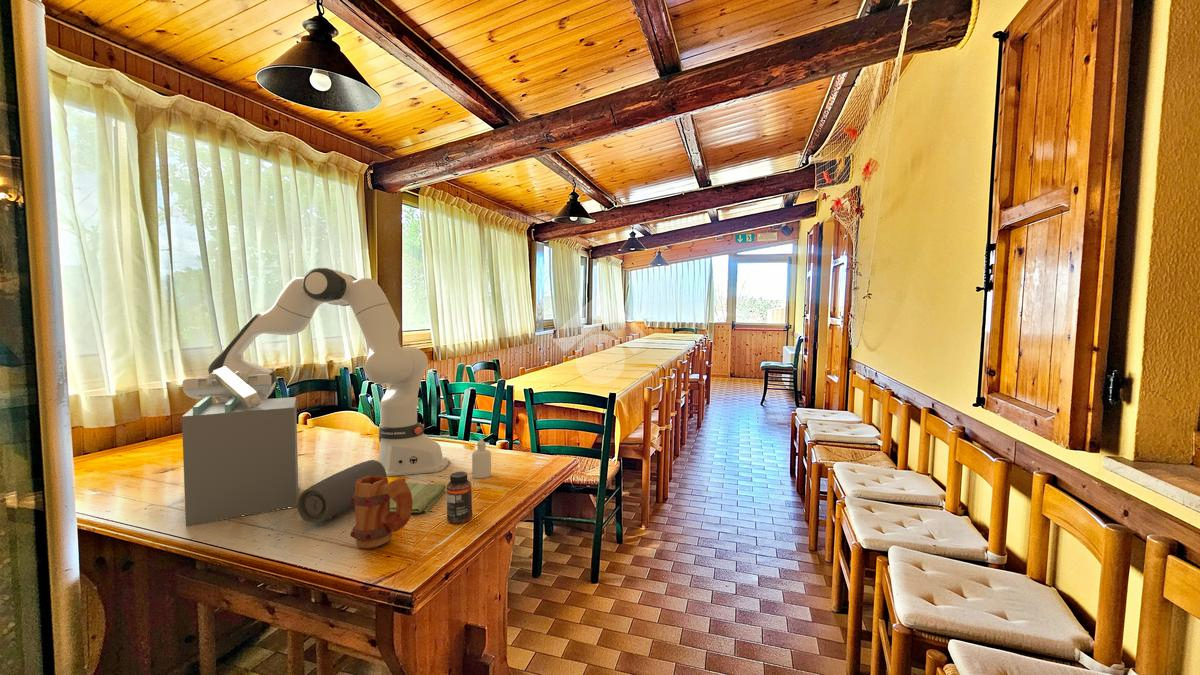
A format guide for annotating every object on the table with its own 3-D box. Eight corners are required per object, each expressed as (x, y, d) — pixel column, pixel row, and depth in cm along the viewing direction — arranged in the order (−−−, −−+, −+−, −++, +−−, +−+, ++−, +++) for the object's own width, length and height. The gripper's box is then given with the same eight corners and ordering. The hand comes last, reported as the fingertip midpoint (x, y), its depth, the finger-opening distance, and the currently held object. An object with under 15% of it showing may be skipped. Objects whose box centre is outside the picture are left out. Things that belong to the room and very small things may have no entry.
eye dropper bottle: (477, 473, 151) (476, 435, 150) (493, 475, 149) (493, 437, 149) (469, 478, 146) (469, 439, 146) (486, 479, 145) (486, 440, 144)
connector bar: (217, 379, 137) (212, 370, 136) (229, 374, 139) (225, 366, 138) (252, 411, 118) (247, 401, 117) (266, 405, 120) (260, 395, 119)
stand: (201, 500, 128) (197, 396, 127) (298, 485, 139) (295, 390, 138) (185, 526, 113) (181, 407, 111) (296, 507, 124) (293, 399, 123)
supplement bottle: (464, 512, 121) (464, 468, 121) (476, 519, 117) (476, 473, 116) (442, 519, 117) (441, 473, 116) (454, 527, 113) (453, 479, 112)
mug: (341, 548, 102) (340, 478, 102) (372, 532, 110) (370, 467, 109) (395, 560, 97) (393, 487, 96) (423, 543, 105) (422, 475, 104)
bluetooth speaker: (330, 530, 111) (329, 487, 110) (295, 527, 112) (294, 485, 112) (389, 494, 133) (388, 458, 133) (358, 492, 135) (358, 457, 134)
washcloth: (373, 516, 119) (372, 504, 119) (404, 490, 137) (404, 479, 137) (424, 517, 119) (424, 505, 119) (450, 491, 136) (449, 480, 136)
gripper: (188, 386, 140) (177, 366, 129) (273, 381, 150) (269, 362, 139) (186, 406, 137) (175, 388, 127) (273, 400, 148) (269, 382, 137)
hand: (225, 374), depth 133 cm, fingers closed on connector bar, 4 cm apart
